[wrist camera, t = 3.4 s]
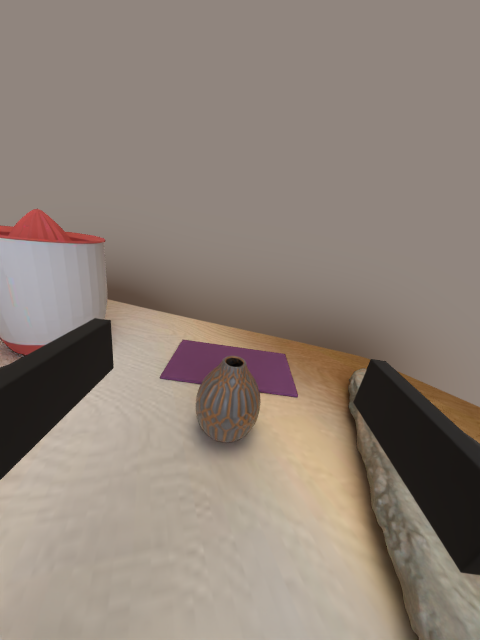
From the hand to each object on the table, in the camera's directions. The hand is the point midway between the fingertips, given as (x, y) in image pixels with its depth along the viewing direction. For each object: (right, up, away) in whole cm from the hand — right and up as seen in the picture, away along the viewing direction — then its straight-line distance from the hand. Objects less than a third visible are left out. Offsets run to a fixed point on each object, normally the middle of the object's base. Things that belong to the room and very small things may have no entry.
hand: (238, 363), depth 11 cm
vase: (-2, -10, +14) cm, 18 cm away
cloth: (-1, -5, +26) cm, 27 cm away
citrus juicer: (-31, -1, +27) cm, 41 cm away
